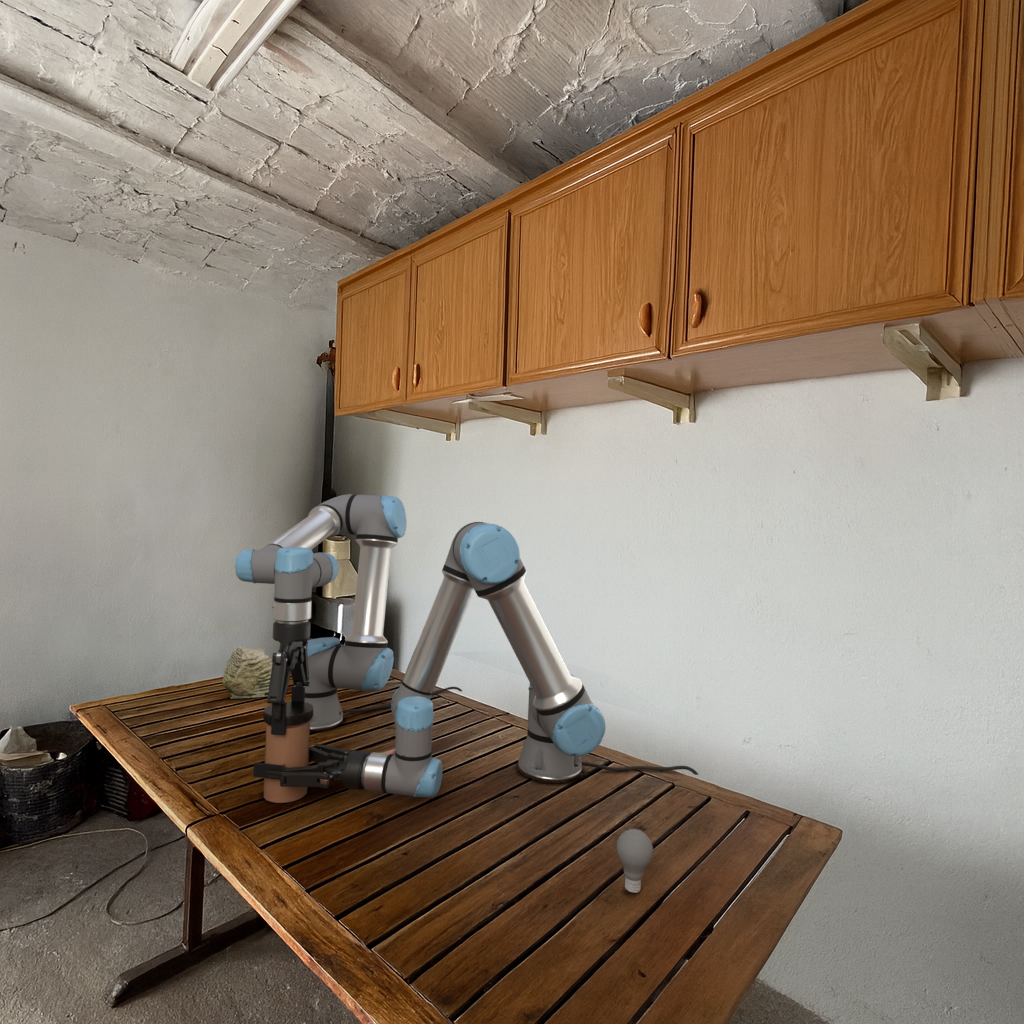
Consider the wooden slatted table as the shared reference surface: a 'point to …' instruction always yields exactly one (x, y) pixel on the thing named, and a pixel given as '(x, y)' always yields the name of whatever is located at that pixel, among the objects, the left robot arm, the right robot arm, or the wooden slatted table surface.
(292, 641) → the left robot arm
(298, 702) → the lid
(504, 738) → the wooden slatted table surface
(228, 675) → the fossil
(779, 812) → the wooden slatted table surface
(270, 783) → the jar
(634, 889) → the light bulb
